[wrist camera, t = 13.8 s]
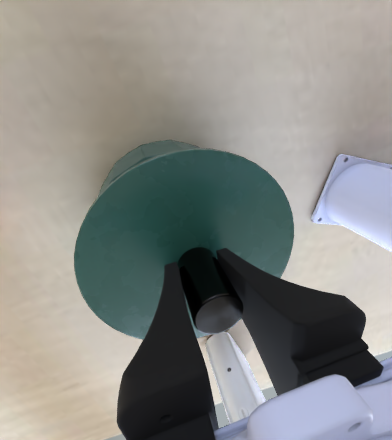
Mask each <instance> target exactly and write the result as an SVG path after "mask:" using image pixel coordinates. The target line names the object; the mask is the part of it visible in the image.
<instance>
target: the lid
mask: <svg viewBox="0 0 392 440" xmlns="http://www.w3.org/2000/svg"><path fill="white" fill-rule="evenodd" d="M293 238H294V223H293V216H292V211H291V208H290V205H289V202H288V200H287V198H286V196H285V194H284V191H283V190H282V189H281V187H280V186H279V184H278V183H277V181H276V180H275V179H274V178H273V177H272V176H271V175H270V174H269V173H268V172H267V171H265V170H264V169H263V168H261V167H260V166H258V165H257V164H256V163H254V162H252V161H250V160H248V159H246V158H244V157H241V156H239V155H236V154H233V153H229V152H226V151H221V150H215V149H202V148H191V149H183V150H175V151H172V152H168V153H164V154H160V155H157V156H155V157H152V158H150V159H147V160H145V161H143V162H141V163H139V164H137V165H135V166H134V167H132V168H130V169H129V170H127V171H125V172H124V173H123V174H121V175H120V176H119V177H118V178H116V179H115V180H114V181H113V182H111V183H110V184H109V185H108V186H107V188H106V189H105V190H104V191H103V192H102V193H101V194H100V195H99V196H98V198H97V199H96V200H95V202H94V203H93V205H92V206H91V207H90V209H89V211H88V213H87V215H86V217H85V219H84V221H83V223H82V225H81V228H80V231H79V234H78V237H77V240H76V246H75V253H74V270H75V275H76V280H77V284H78V287H79V289H80V292H81V294H82V296H83V298H84V300H85V301H86V303H87V304H88V306H89V307H90V308H91V310H92V311H93V312H94V313H95V314H96V315H97V316H98V317H99V318H100V319H101V320H102V321H104V322H105V323H106V324H108V325H109V326H111V327H112V328H114V329H116V330H117V331H120V332H122V333H124V334H126V335H129V336H132V337H135V338H139V339H144V338H145V336H146V334H147V332H148V330H149V327H150V325H151V323H152V320H153V318H154V315H155V313H156V310H157V307H158V303H159V300H160V296H161V292H162V287H163V282H164V266H165V265H166V264H170V263H173V262H177V265H178V268H179V272H180V276H181V281H182V286H183V290H184V294H185V299H186V303H187V308H188V314H189V317H190V320H191V323H192V326H193V329H194V332H195V335H196V338H199V337H203V336H206V335H209V334H218V333H222V332H224V331H226V330H228V329H230V328H231V327H233V326H234V325H235V324H236V323H237V322H238V321H239V320H240V319H242V318H241V316H242V314H243V309H244V307H243V302H242V300H241V299H240V297H239V295H238V294H237V292H236V290H235V288H234V287H233V285H232V283H231V282H230V280H229V278H228V277H227V275H226V273H225V272H224V270H223V268H222V267H221V265H220V263H219V262H218V260H217V253H216V250H220V249H224V248H227V249H229V250H230V251H232V252H233V253H235V254H236V255H238V256H239V257H241V258H242V259H244V260H245V261H247V262H249V263H250V264H252V265H254V266H255V267H257V268H259V269H261V270H263V271H265V272H267V273H269V274H271V275H273V276H276V277H278V278H281V276H282V274H283V272H284V270H285V268H286V266H287V263H288V260H289V258H290V254H291V250H292V246H293Z"/></svg>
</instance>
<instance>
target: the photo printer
mask: <svg viewBox="0 0 392 440" xmlns="http://www.w3.org/2000/svg"><path fill="white" fill-rule="evenodd" d="M205 346H206V351H207V354H208V358H209V361H210V364H211V367H212V371H213V374H214V377H215V380H216V383H217V386H218V390H219V393H220V396H221V399H222V402H223V405H224V408H225V411H226V414H227V418H228V421H229V424H231V423H233V422H236V421H238V420H241V419H243V418H245V417H248V416H250V414H251V413H252V412H253V411H254V410H255V409H256V408H257V407H258V406H259V405H260V404H262V403H264V402H266V400H265V398H264V396H263V394H262V392H261V390H260V388H259V385H258V383H257V381H256V379H255V377H254V375H253V372H252V370H251V368H250V365H249V364H248V362H247V360H246V358H245V356H244V355H243V353H242V351H241V350H240V348H239V347H238V345H237V344H236V342H235V341H234V339H233V338H232V337H231V335H230V334H229V333H228V332H225V333H224V332H222V333H218V334H214V335H212V336H211V337H210V338H209V339H208V340H207V343H206V344H205Z"/></svg>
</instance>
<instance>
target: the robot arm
mask: <svg viewBox="0 0 392 440" xmlns="http://www.w3.org/2000/svg"><path fill="white" fill-rule="evenodd" d="M344 159H345V161H344ZM311 221H312V222H314V223H323V224H334V225H343V226H345V227H346V228H348V229H350V230H352V231H354V232H356V233H358V234H359V235H361V236H363V237H365V238H367V239H369V240H370V241H372V242H374V243H376V244H378V245H380V246H382V247H383V248H385V249H387V250H389V251H391V252H392V165H390V164H385V163H381V162H376V161H372V160H367V159H363V158H358V157H353V156H349V155H344V154H340V155H338V156H337V158H336V161H335V163H334V165H333V168H332V170H331V172H330V175H329V177H328V179H327V182H326V184H325V187H324V189H323V191H322V194H321V196H320V198H319V201H318V203H317V206H316V208H315V210H314V213H313V215H312V217H311ZM216 253H217V260H218V262H219V263H220V265H221V267H222V268H223V270H224V272H225V273H226V275H227V277H228V278H229V280H230V282H231V283H232V285H233V287H234V288H235V290H236V292H237V294H238V295H239V297H240V299H241V300H242V302H243V307H244V309H243V314H242V316H241V318H242V320H243V322H244V323H245V325H246V327H247V329H248V331H249V333H250V335H251V337H252V339H253V341H254V343H255V345H256V347H257V350H258V352H259V354H260V356H261V358H262V361H263V363H264V365H265V367H266V370H267V372H268V374H269V376H270V379H271V381H272V383H273V386H274V388H275V390H276V393H277V395H278V396H276V397H274V398H271V399H269V400H268V401H266V402H264V403H262V404H260V405H259V406H258V407H257V408H256V409H255V410H254V411H253V412H252V413H251V414H250V416H248V417H245V418H243V419H241V420H238V421H236V422H233V423H231V424H229V425H226V426H224V427H221V428H218V422H217V417H216V413H215V406H214V401H213V396H212V391H211V386H210V381H209V376H208V372H207V368H206V365H205V362H204V358H203V355H202V353H201V350H200V347H199V344H198V341H197V338H196V335H195V332H194V329H193V326H192V323H191V320H190V317H189V314H188V308H187V303H186V299H185V294H184V290H183V286H182V281H181V276H180V272H179V268H178V265H177V262H173V263H170V264H166V265H165V266H164V282H163V287H162V292H161V296H160V300H159V303H158V307H157V310H156V313H155V315H154V318H153V320H152V323H151V325H150V327H149V330H148V332H147V334H146V336H145V338H144V340H143V342H142V343H141V345H140V347H139V349H138V351H137V352H136V354H135V356H134V357H133V359H132V360H131V362H130V364H129V365H128V367H127V368H126V370H125V371H124V373H123V376H122V380H121V385H120V390H119V396H118V406H117V424H118V427H119V429H120V430H121V432H122V433H123V435H124V436H125V438H126V440H392V357H390V358H388V359H386V360H383V361H381V362H378V360H376V359H375V357H374V356H373V355H372V354H371V353H370V352H369V351H368V350H367V349H368V345H367V344H366V343H365V342H364V341H363V340H362V339H361V337H362V334H363V330H364V327H365V322H366V317H365V313H364V312H363V311H362V310H361V309H359V308H358V307H357V306H356V305H355V304H354V303H353V302H351V301H350V300H349V299H348V298H346V297H345V296H342V295H337V294H332V293H327V292H322V291H318V290H314V289H310V288H306V287H303V286H300V285H297V284H294V283H291V282H288V281H285V280H283V279H280V278H278V277H276V276H273V275H271V274H269V273H267V272H265V271H263V270H261V269H259V268H257V267H255V266H254V265H252V264H250V263H249V262H247V261H245V260H244V259H242V258H241V257H239V256H238V255H236V254H235V253H233V252H232V251H230V250H229V249H227V248H224V249H220V250H216Z"/></svg>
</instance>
